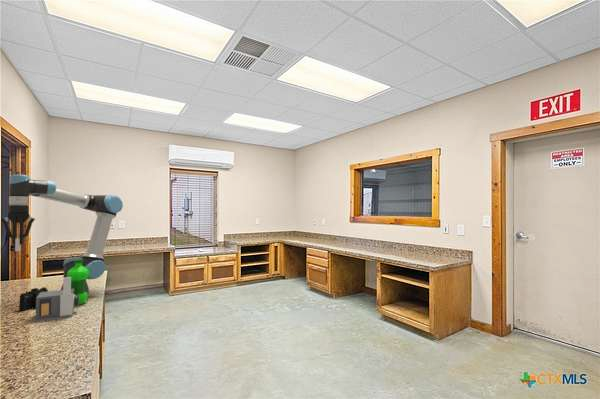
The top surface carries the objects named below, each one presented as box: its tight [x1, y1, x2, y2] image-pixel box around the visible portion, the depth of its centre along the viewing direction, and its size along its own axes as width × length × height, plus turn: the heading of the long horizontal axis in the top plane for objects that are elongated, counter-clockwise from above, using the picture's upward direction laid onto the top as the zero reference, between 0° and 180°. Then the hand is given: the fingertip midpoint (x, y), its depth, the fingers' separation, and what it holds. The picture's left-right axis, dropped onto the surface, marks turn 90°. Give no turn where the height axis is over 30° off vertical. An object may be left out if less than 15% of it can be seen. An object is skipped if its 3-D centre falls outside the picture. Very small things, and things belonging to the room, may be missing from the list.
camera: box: [18, 286, 49, 312], centre depth 166 cm, size 14×11×10 cm
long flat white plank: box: [60, 277, 74, 316], centre depth 152 cm, size 1×5×18 cm, turn 123°
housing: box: [35, 289, 80, 323], centre depth 155 cm, size 13×16×11 cm
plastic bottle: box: [67, 259, 89, 306], centre depth 173 cm, size 10×10×25 cm
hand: (17, 250), depth 155 cm, fingers closed
